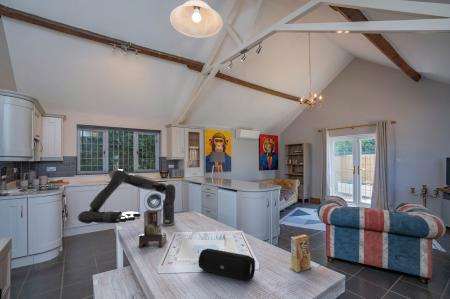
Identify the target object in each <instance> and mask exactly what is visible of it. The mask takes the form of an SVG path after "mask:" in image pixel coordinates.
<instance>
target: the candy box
mask: <svg viewBox="0 0 450 299" xmlns="http://www.w3.org/2000/svg"><path fill="white" fill-rule="evenodd" d="M290 260H291V261H290V264H291V268H290V269H291V270H293V271H294V272H296V273H299V272H303V271H306V270H309V269H311V237H310V236H309V235H307V234H299V235H295V236H291V237H290Z"/></svg>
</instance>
